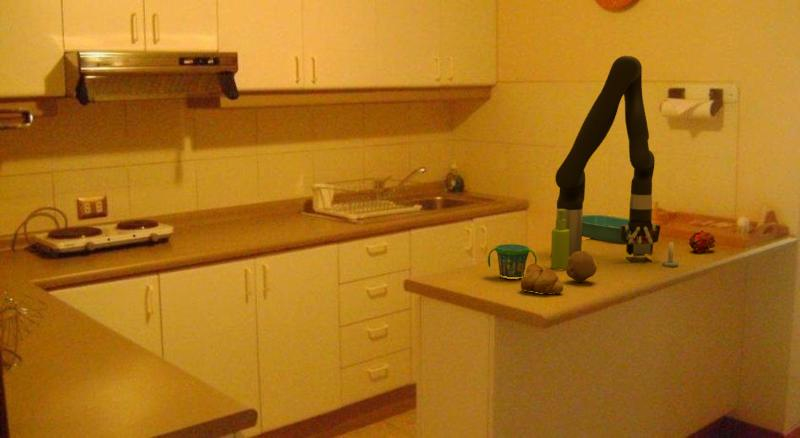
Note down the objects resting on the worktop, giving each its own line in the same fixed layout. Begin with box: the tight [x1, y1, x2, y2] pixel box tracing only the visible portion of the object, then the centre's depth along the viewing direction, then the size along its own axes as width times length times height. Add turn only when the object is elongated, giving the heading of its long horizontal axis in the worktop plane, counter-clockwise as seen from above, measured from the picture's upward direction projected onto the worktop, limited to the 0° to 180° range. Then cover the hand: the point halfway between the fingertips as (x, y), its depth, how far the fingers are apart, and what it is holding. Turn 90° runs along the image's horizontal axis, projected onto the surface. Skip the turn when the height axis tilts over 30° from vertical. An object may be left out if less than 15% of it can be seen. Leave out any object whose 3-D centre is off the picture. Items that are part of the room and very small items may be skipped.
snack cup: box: [487, 243, 538, 277], centre depth 272 cm, size 16×10×10 cm
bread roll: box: [520, 262, 564, 295], centre depth 253 cm, size 13×10×8 cm
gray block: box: [631, 241, 651, 255], centre depth 297 cm, size 6×6×4 cm
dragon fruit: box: [688, 230, 716, 254], centre depth 313 cm, size 8×8×12 cm
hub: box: [662, 241, 679, 268], centre depth 289 cm, size 5×5×8 cm
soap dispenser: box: [550, 209, 570, 270], centre depth 286 cm, size 6×7×20 cm
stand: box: [625, 235, 653, 264], centre depth 297 cm, size 7×7×11 cm
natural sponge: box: [565, 250, 597, 283], centre depth 266 cm, size 9×9×10 cm
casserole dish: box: [582, 214, 656, 244], centre depth 344 cm, size 37×22×7 cm, turn 37°
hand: (639, 254), depth 298 cm, fingers closed on gray block, 6 cm apart
